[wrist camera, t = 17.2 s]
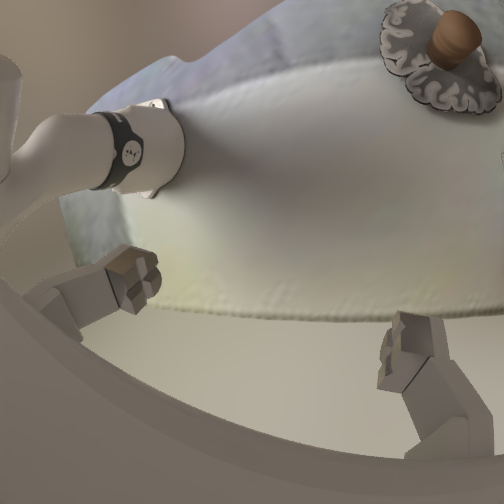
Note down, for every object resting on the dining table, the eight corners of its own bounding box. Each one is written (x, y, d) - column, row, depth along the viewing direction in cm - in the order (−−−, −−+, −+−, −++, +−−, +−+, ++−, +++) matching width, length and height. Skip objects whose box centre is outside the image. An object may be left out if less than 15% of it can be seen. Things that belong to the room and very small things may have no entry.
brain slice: (349, 39, 29) (347, 31, 26) (423, -3, 20) (425, -12, 18) (439, 146, 29) (445, 145, 26) (508, 96, 21) (516, 92, 18)
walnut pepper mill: (427, 65, 23) (444, 42, 15) (424, 35, 21) (437, 5, 13) (459, 73, 22) (484, 55, 13) (456, 43, 20) (477, 18, 11)
